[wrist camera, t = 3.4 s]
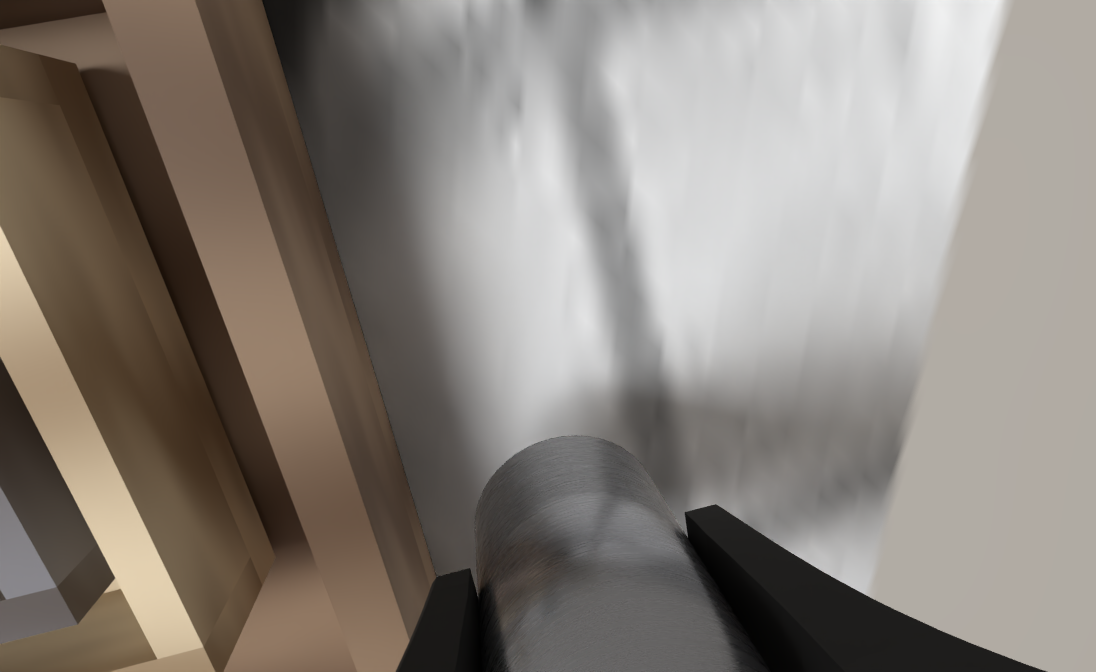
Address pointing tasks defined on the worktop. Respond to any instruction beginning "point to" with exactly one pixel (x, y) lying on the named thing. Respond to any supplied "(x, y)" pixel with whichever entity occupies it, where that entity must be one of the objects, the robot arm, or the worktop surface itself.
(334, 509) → the bay
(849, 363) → the worktop surface
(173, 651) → the crate
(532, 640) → the peg
